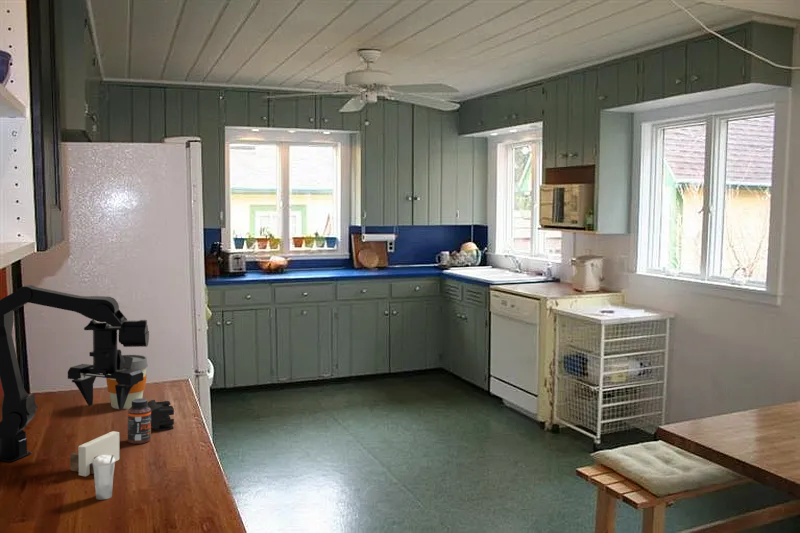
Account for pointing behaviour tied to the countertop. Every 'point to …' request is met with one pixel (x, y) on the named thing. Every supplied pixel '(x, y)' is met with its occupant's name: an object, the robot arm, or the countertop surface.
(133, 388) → the reusable coffee cup
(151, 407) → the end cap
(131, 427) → the supplement bottle
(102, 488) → the milkshake
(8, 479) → the countertop surface
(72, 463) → the brown wooden flat piece
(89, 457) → the cream plate
